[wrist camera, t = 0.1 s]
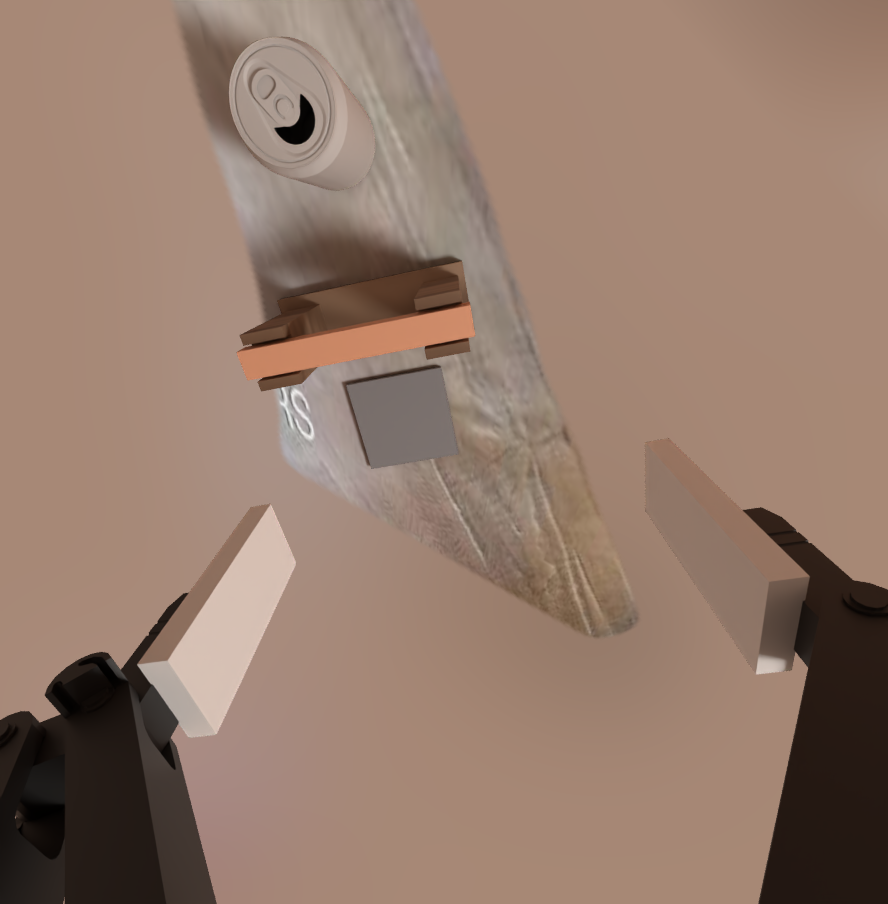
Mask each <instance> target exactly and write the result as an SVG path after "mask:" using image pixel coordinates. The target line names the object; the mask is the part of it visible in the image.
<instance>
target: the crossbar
mask: <svg viewBox="0 0 888 904" xmlns="http://www.w3.org/2000/svg"><path fill="white" fill-rule="evenodd" d="M474 336H475V331H474V325H473V319H472V313H471V307H470V302H466V303H461V304H456V305H451V306H446V307H441V308H436V309H431V310H427V311H422V312H417V313H412V314H407V315H402V316H397V317H392V318H387V319H382V320H377V321H372V322H367V323H362V324H357V325H352V326H347V327H343V328H338V329H333V330H328V331H323V332H318V333H313V334H308V335H303V336H298V337H293V338H288V339H283V340H278V341H273V342H268V343H263V344H258V345H254V346H249V347H245V348H243V349H241V350H240V351H238V352H237V355H238V357H239V360H240V362H241V365H242V367H243V370H244V373H245V375H246V378H247V380H253V379H258V378H263V377H268V376H273V375H278V374H284V373H289V372H294V371H299V370H304V369H309V368H314V367H320V366H325V365H330V364H335V363H340V362H345V361H350V360H356V359H361V358H366V357H371V356H376V355H381V354H386V353H392V352H397V351H402V350H407V349H412V348H417V347H422V346H428V345H433V344H438V343H443V342H448V341H453V340H458V339H464V338H469V337H474Z"/></svg>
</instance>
